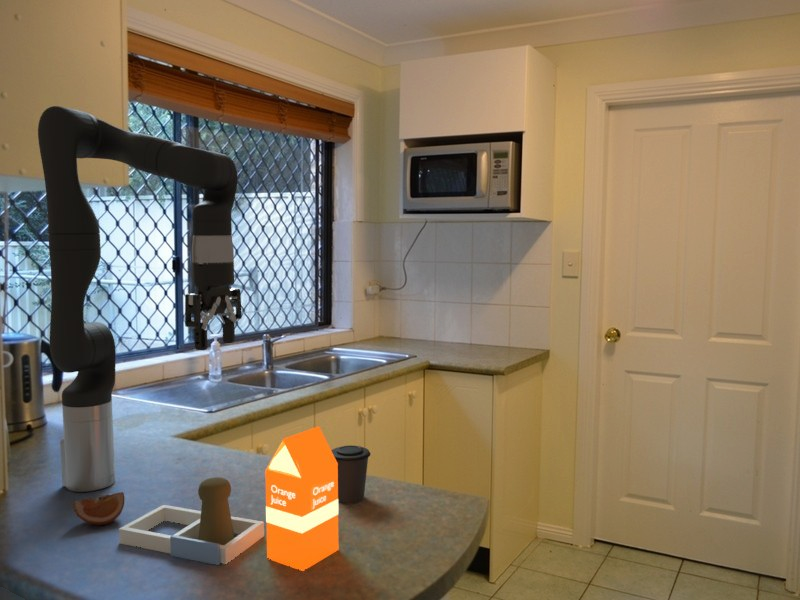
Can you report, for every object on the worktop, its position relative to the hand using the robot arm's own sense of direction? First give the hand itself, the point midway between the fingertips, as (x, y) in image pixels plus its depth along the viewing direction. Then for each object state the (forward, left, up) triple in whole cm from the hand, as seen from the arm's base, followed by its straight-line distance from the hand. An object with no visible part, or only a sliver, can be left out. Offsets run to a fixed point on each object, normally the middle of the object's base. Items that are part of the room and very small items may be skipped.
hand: (215, 346), depth 131 cm
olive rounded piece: (+11, -16, -30) cm, 36 cm away
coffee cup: (+23, +10, -30) cm, 39 cm away
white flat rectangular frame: (+6, -16, -30) cm, 35 cm away
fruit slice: (-14, -16, -30) cm, 37 cm away
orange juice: (+26, -14, -30) cm, 42 cm away
